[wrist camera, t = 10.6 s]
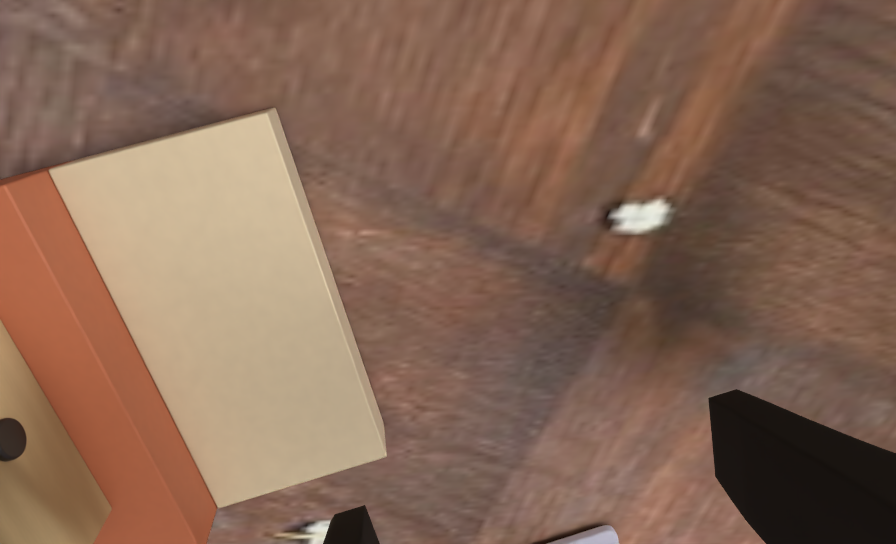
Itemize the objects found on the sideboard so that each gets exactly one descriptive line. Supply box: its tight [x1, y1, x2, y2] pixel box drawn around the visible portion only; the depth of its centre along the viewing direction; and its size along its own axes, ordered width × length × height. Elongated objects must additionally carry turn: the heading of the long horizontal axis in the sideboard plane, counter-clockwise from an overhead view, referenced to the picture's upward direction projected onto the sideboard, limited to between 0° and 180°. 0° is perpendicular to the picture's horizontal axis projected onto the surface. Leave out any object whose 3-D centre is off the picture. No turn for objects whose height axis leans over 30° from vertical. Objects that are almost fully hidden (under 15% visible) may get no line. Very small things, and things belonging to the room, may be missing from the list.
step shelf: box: [0, 108, 387, 544], centre depth 16 cm, size 12×18×6 cm, turn 104°
